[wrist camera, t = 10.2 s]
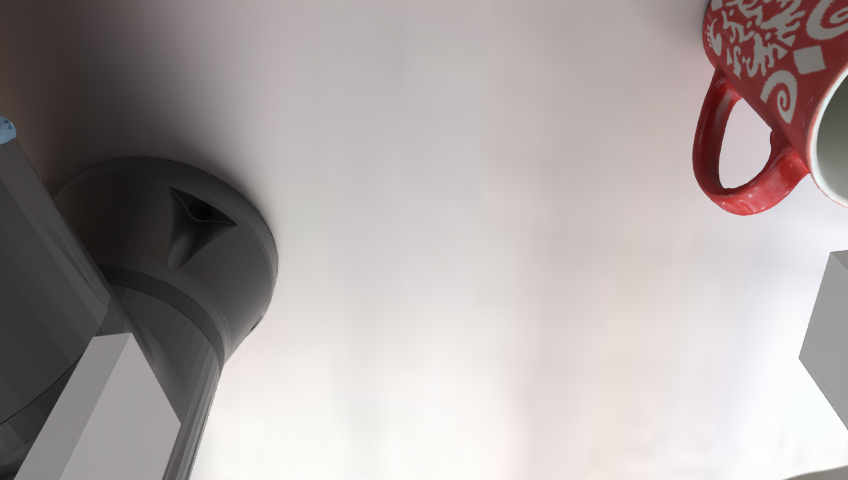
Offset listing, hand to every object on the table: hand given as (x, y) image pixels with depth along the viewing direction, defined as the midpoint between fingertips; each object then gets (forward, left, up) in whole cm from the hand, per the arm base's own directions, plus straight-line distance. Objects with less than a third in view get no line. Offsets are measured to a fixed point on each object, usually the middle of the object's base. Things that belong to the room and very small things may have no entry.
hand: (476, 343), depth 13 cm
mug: (+17, -5, -27) cm, 32 cm away
